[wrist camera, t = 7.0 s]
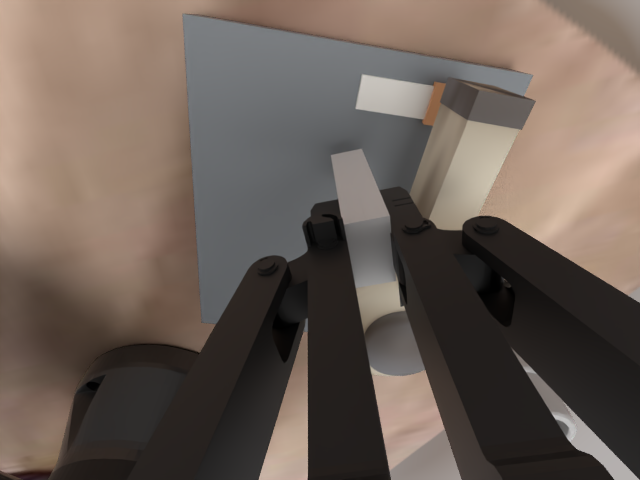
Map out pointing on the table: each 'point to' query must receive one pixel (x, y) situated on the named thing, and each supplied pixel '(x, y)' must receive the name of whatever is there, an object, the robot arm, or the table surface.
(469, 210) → the lever
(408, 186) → the grey base plate
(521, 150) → the table surface
